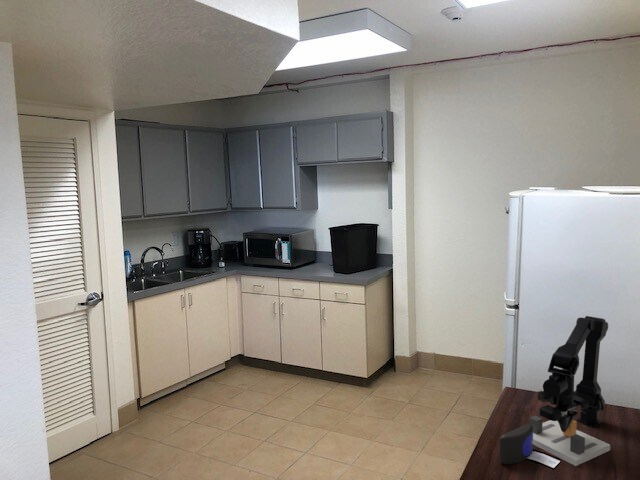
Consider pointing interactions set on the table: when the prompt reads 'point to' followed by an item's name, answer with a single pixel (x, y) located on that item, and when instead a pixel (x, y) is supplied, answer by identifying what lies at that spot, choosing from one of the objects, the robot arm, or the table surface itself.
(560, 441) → the breaker panel
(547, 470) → the table surface
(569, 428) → the block
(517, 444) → the leaning round-cornered charcoal block
